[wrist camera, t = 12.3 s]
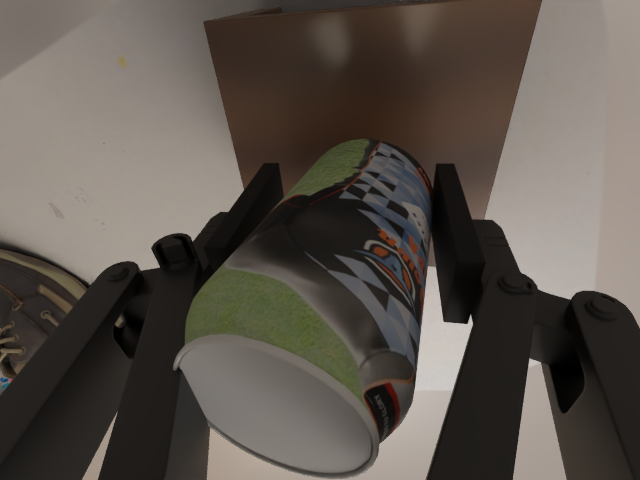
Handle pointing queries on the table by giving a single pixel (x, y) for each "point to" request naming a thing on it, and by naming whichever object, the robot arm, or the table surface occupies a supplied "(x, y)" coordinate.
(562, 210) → the table surface
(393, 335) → the beverage can
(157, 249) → the robot arm
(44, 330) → the boat shoe
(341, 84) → the walnut shelf
